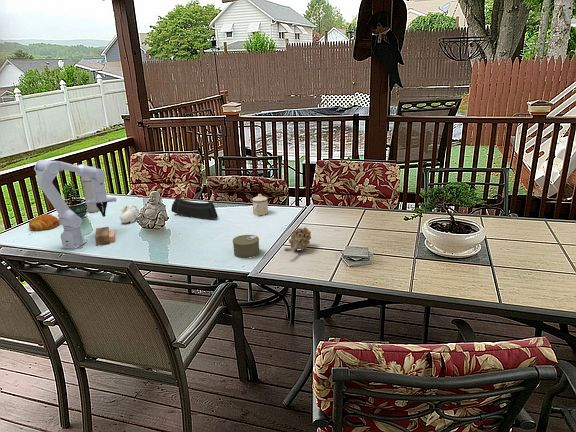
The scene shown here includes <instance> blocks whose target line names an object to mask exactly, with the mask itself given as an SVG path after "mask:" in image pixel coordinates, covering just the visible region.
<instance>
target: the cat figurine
mask: <svg viewBox="0 0 576 432" xmlns="http://www.w3.org/2000/svg"><path fill="white" fill-rule="evenodd" d="M139 214H140V210H139V208H138V207H137V206H135V205H133V204H130V205H126V206H124V207H123V209H121V214H120V215H119V220H120V221H121V222H122V223H123V224H128V223H130V224H132V223H134V222H135V220H136V219H137V218H139V217H138V215H139Z"/></svg>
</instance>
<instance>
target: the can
mask: <svg viewBox="0 0 576 432" xmlns="http://www.w3.org/2000/svg"><path fill="white" fill-rule="evenodd" d="M232 245H233V246H232V247H233V255H234V257H236V258H239V259H250V258H249V257H252V258H254V257H253V256H255V257H257V256H258V255H260V238H259V236H258V235H254V234H242V235H238V236H235V237H234V238H233V239H232ZM257 254H258V255H257ZM256 255H257V256H256Z"/></svg>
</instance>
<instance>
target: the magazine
mask: <svg viewBox="0 0 576 432" xmlns="http://www.w3.org/2000/svg"><path fill="white" fill-rule="evenodd" d="M170 211H171V212H172V213H175V214H176V215H177V216H183V217H187V218H190V219H191V218H192V219H200V220H201V219H202V220H203V219H204V220H205V219H206V220H209V219H211V220H212V219H213V220H214V219H218V218H219V216H218V213H217V210H216V206H215V205H214V203H213V201H209V202H197V201H189V200H185V199H183V198H179V197H178V196H176V197H175V198H174V201H173V203H172V204H171V210H170Z"/></svg>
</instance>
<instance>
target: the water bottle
mask: <svg viewBox="0 0 576 432" xmlns="http://www.w3.org/2000/svg"><path fill="white" fill-rule="evenodd" d="M80 179H81V180H80V182H81V185H82V190H83V196H84V200H86V201H88V200H93V199H95V197H94V192H93V186H92V181H91V179H90V178H87V177H82V176H80ZM86 201H85V202H86ZM86 211H87V213H89V214H90V213H91V214H93V213H97V212H100V210H99V209H98V207H97V206H96V204H90V205H87V206H86Z"/></svg>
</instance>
